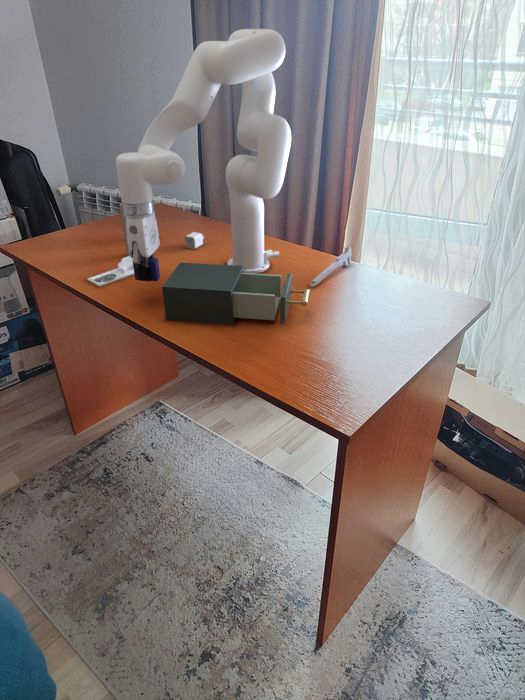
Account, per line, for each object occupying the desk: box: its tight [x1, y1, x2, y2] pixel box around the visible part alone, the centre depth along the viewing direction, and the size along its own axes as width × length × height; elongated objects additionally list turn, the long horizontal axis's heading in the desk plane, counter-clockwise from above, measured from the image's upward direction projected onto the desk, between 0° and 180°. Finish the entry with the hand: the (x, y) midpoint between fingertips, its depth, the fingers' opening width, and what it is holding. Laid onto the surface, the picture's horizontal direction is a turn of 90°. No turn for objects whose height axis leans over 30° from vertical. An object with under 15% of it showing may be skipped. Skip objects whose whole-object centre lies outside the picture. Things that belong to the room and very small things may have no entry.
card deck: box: [132, 257, 161, 282], centre depth 129 cm, size 6×2×5 cm, turn 81°
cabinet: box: [161, 262, 244, 326], centre depth 125 cm, size 17×15×9 cm
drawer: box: [232, 272, 311, 325], centre depth 123 cm, size 20×14×7 cm, turn 81°
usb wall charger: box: [184, 231, 206, 250], centre depth 164 cm, size 4×7×4 cm, turn 150°
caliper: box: [309, 245, 353, 288], centre depth 142 cm, size 20×1×6 cm, turn 141°
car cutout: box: [86, 255, 135, 288], centre depth 144 cm, size 15×7×4 cm, turn 137°
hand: (147, 277), depth 130 cm, fingers closed on card deck, 2 cm apart
